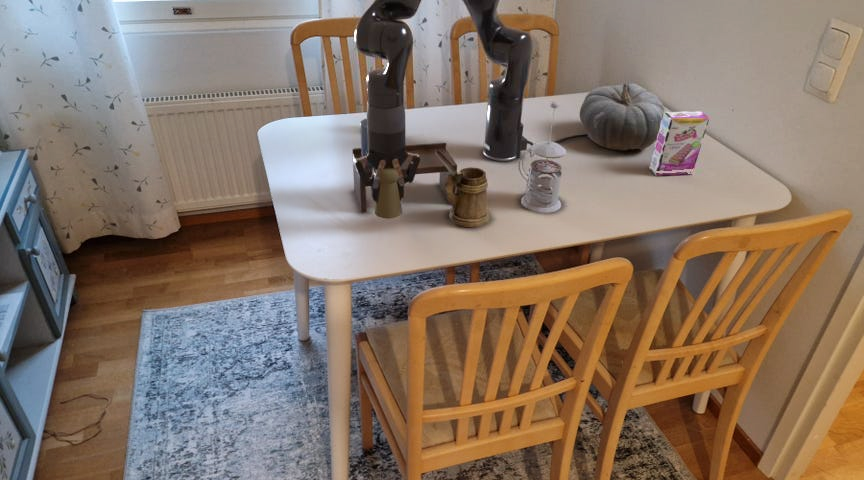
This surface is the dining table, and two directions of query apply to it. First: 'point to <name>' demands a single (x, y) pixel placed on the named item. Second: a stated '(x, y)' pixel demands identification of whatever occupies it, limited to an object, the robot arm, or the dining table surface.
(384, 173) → the olive green peg figure
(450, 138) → the dining table surface
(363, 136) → the cup
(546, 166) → the french press
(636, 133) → the gourd
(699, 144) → the candy bar box
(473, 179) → the wooden mug
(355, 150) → the brown wooden shelf
